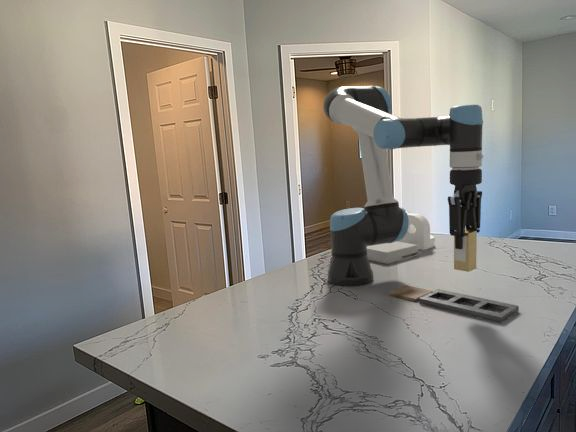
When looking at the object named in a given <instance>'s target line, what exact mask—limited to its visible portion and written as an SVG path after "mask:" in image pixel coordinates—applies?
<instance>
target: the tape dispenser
mask: <svg viewBox="0 0 576 432" xmlns="http://www.w3.org/2000/svg"><path fill="white" fill-rule="evenodd" d="M405 212H406V213H407V215H408V219H409V226H408V231H407V233H406V235H405V236H404V238H403V239H401V240H400V241H398V242H403V243H409V244H415V245H418V250H423V251H425V250H428V249H431V248H435V246H436V245H435V244H436V243H435V242H436V239H435V238H436V237H434V236H433V234H431V225H430V222H429V220H428V219H427V218H426V217H425V216H424V215H423V214H420V213H413V212H410V211H405Z"/></svg>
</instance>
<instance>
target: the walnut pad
mask: <svg viewBox="0 0 576 432" xmlns="http://www.w3.org/2000/svg"><path fill="white" fill-rule="evenodd" d="M431 292H434V291H433V290H431V289H427V288H421V287H417V286H412V285H403V286H401V287H400V288H395V289H394V290H392V291H389V292H388V297H389V296H390V297H395V298H398V299H403V300H406V301H411V302H415V303H416V302H419V298H421V297H423V296H425V295H427V294H429V293H431Z"/></svg>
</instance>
